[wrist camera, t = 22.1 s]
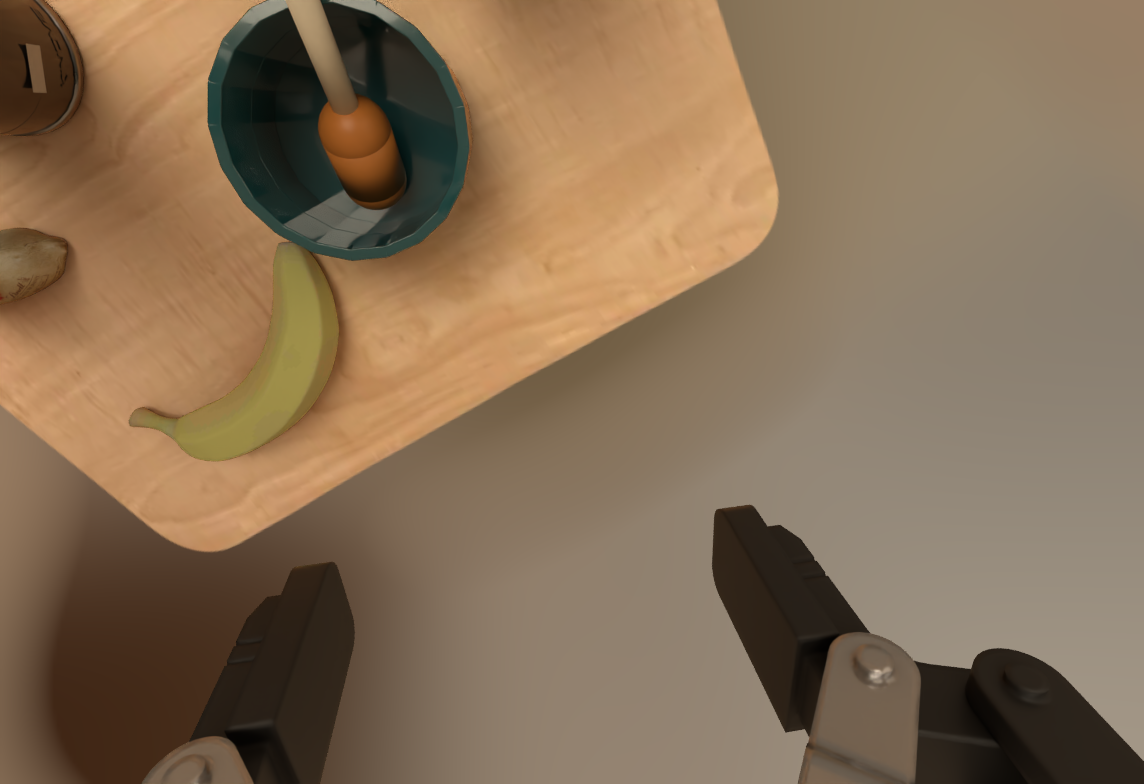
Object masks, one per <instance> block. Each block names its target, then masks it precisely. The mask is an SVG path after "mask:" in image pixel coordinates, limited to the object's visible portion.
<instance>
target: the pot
mask: <svg viewBox="0 0 1144 784" xmlns="http://www.w3.org/2000/svg"><path fill="white" fill-rule="evenodd" d="M320 1H321V4H322V7H323V9H324V12H325V15H326V17H327V20H328V23H329V25H330V28H331V31H332V33H333V36H334V39H335V41H336V44H337V47H338V49H339V52H340V55H341V57H342V60H343V63H344V65H345V68H346V71H347V73H348V76H349V79H350V81H351V84H352V87H353V89H354V92H355V94H360V95H363V96H365V97H367V98H369V99H371V100H372V101H374V102H375V103H376V104H377V105H379V106H380V108H381V109H382V110H383V111H384V113H385V114H386V116H387V118H388V120H389V122H390V125H391V128H392V131H393V135H394V138H395V141H396V144H397V147H398V150H399V153H400V156H401V159H402V162H403V165H404V168H405V172H406V178H407V181H406V189H405V192H404V194H403V196H402V197H401V199H400V200H399V201H398V202H397V203H396V204H394V205H393V206H391V207H390V208H387V209H383V210H370V209H366V208H364V207H362V206H360V205H358V204H356V203H355V202H354V201H353V200H352V199H351V198H349V196H348V195H347V193H346V192H345V190H344V189H343V186H342V184H341V182H340V180H339V178H338V176H337V174H336V172H335V170H334V168H333V166H332V163H331V161H330V159H329V157H328V155H327V153H326V151H325V149H324V147H323V145H322V142H321V139H320V137H319V131H318V121H319V115H320V113H321V110H322V109H323V107H324V106H325V104H326V103H327V102H328V99H327V96H326V94H325V92H324V89H323V87H322V85H321V82H320V80H319V78H318V75H317V73H316V71H315V68H314V66H313V64H312V61H311V59H310V57H309V54H308V52H307V50H306V47H305V45H304V43H303V40H302V38H301V36H300V33H299V31H298V29H297V26H296V24H295V22H294V19H293V17H292V15H291V12H290V10H289V8H288V5H287V3H286V1H285V0H266V1H264V2H262V3H260V4H258V5H256V6H253V7H251V9H249V10H248V11H247V12H246V13H245V15H244V16H243V17H242V18H241V19H240V20H239V21H238V22H237V23H236V25H235V26H234V27H233V28H232V29H231V30H230V31H229V32H228V34H227V35H226V36H225V37H224V38H223V40H222V42H221V45H220V47H219V50H218V53H217V56H216V58H215V61H214V64H213V67H212V70H211V72H210V75H209V78H208V80H209V81H208V127H209V130H210V134H211V137H212V140H213V143H214V147H215V150H216V153H217V157H218V160H219V163H220V166H221V168H222V170H223V172H224V173H225V175H226V176H227V178H228V179H229V181H230V183H231V184H232V186H233V187H234V189H235V190H236V192H237V193H238V195H239V197H240V198H241V200H242V201H243V203H244V204H245V205H246V206H247V207H248V208H249V209H250V210H251V211H252V212H253V213H254V214H255V215H256V216H258V217H259V218H260V219H261V220H262V221H263V222H264V223H265V224H266V225H267V226H268V227H270V228H271V229H272V230H273V231H274V232H275V233H277V234H278V235H280V236H282V237H284V238H286V239H287V240H289V241H291V242H293V243H295V244H297V245H299V246H301V247H303V248H305V249H307V250H309V251H311V252H314V253H316V254H321V255H326V256H331V257H336V258H340V259H345V260H351V261H355V260H366V259H376V258H387V257H390V256H392V255H394V254H396V253H399V252H401V251H403V250H406V249H408V248H410V247H412V246H415V245H417V244H419V243H420V242H422V241H423V240H424V239H425V238H426V237H427V236H428V235H429V234H430V233H432V232H433V231H434V230H435V229H436V228H437V227H438V226H439V225H440V224H441V223H442V222H443V221H444V220H445V219H446V218H447V216H448V215H449V213H450V211H451V209H452V207H453V205H454V203H455V201H456V199H457V197H458V196H459V194H460V192H461V190H462V188H463V185H464V182H465V179H466V175H467V172H468V166H469V160H470V154H471V148H472V143H473V137H472V129H471V121H470V113H469V107H468V104H467V101H466V99H465V97H464V94H463V92H462V90H461V88H460V85H459V83H458V81H457V78H456V76H455V74H454V72H453V71H452V70H451V69H450V67H449V66H448V65H447V64H446V62H445V61H444V60H443V59H442V58H441V56H440V55H439V54H438V53H437V51H436V50H435V49H434V48H433V47H432V45H431V44H430V43H429V42H428V41H427V39H426V38H425V37H424V36H423V34H422V33H421V32H420V31H419V30H418V28H416V27H415V26H414V25H412V24H411V23H409V22H408V21H407V20H405V19H404V18H402V17H401V16H399V15H398V14H396V13H395V12H393V11H392V10H390V9H389V8H388V7H386V6H385V5H383V4H382V3H380V2H378V1H377V0H320Z"/></svg>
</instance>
